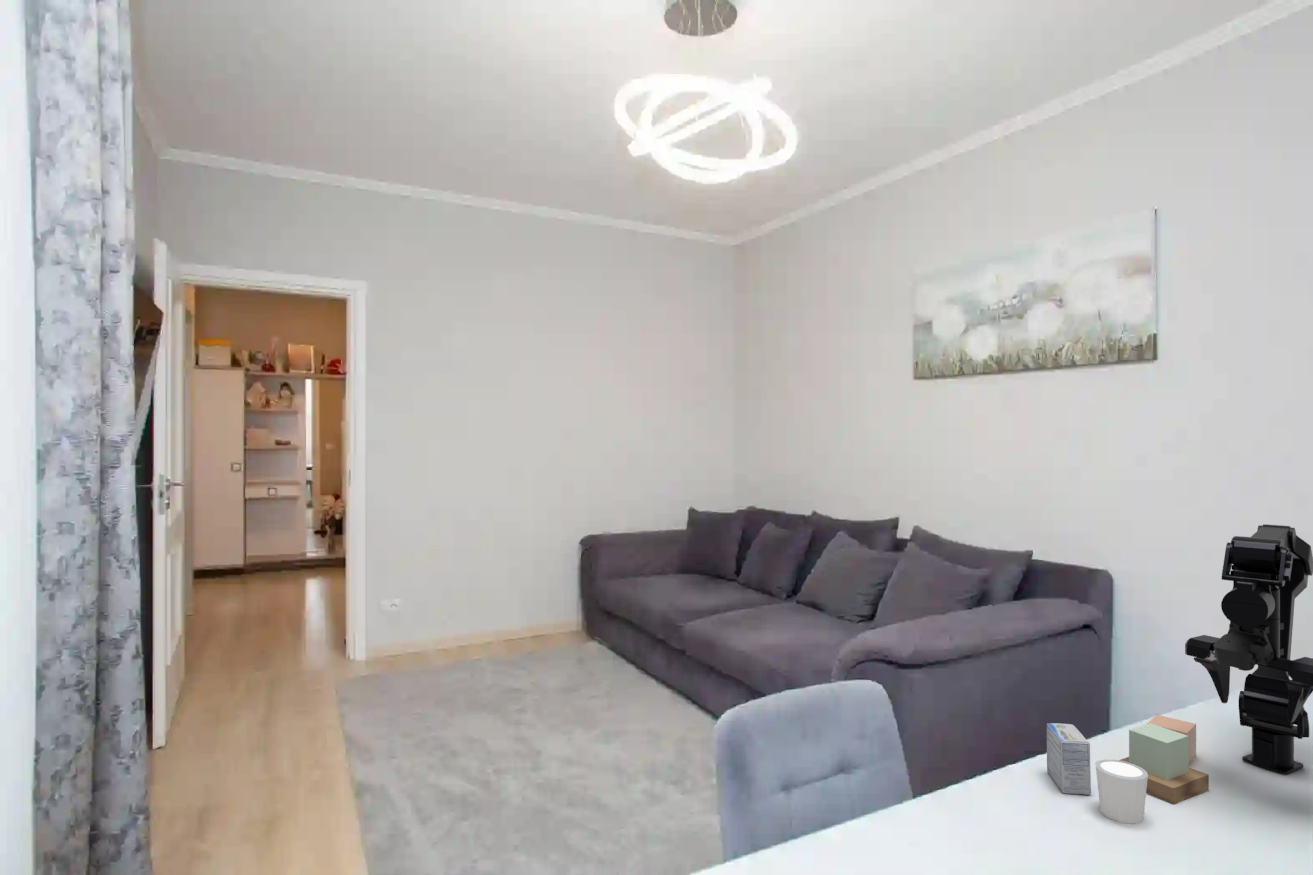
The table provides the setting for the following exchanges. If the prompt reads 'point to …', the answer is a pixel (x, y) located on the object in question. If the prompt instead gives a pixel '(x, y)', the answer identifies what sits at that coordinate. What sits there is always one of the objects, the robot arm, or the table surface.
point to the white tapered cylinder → (1121, 790)
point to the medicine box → (1068, 759)
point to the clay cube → (1179, 730)
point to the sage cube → (1159, 751)
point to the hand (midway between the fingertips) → (1256, 711)
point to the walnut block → (1177, 785)
